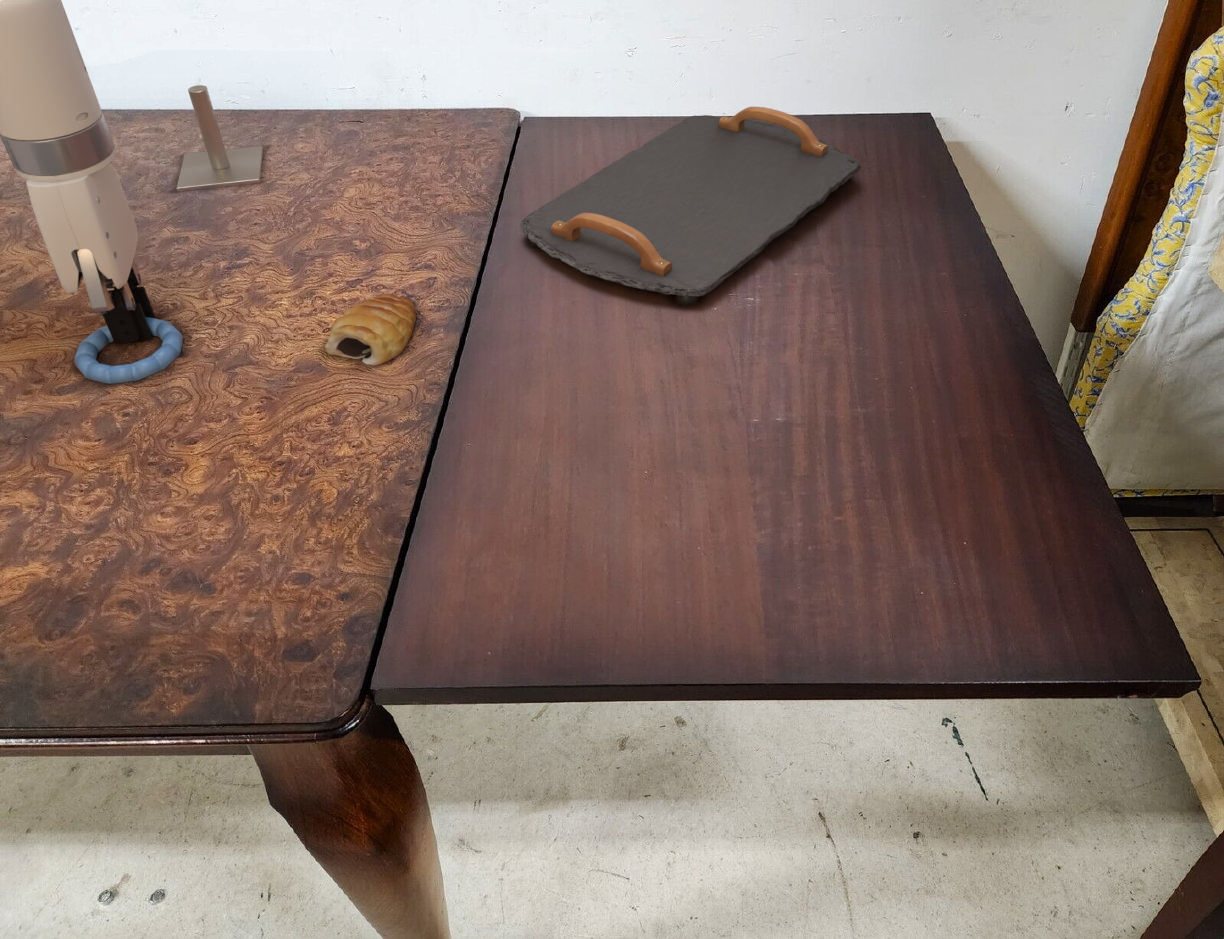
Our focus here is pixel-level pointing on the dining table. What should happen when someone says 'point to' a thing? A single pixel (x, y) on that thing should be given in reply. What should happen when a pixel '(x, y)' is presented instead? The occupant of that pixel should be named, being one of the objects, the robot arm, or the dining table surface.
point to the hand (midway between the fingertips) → (137, 333)
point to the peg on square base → (216, 153)
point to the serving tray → (692, 202)
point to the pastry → (373, 329)
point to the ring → (134, 371)
